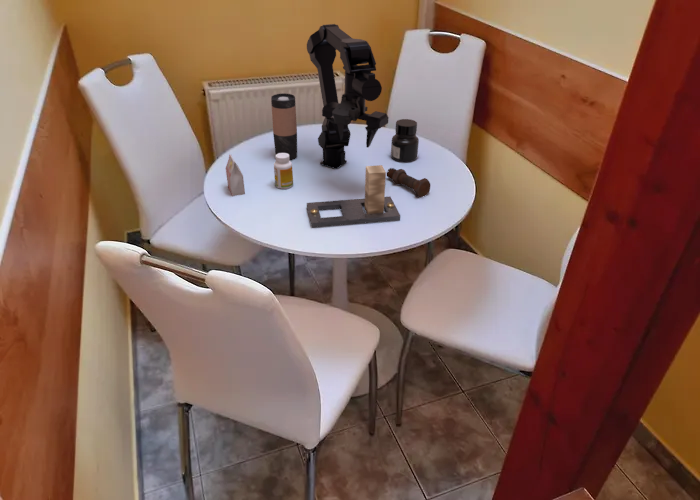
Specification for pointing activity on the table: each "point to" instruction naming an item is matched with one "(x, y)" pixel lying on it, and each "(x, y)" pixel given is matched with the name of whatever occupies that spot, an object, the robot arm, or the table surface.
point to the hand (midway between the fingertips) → (354, 143)
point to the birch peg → (374, 189)
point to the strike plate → (350, 213)
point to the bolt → (409, 181)
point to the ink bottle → (405, 141)
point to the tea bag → (234, 178)
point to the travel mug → (284, 124)
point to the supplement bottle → (283, 171)
